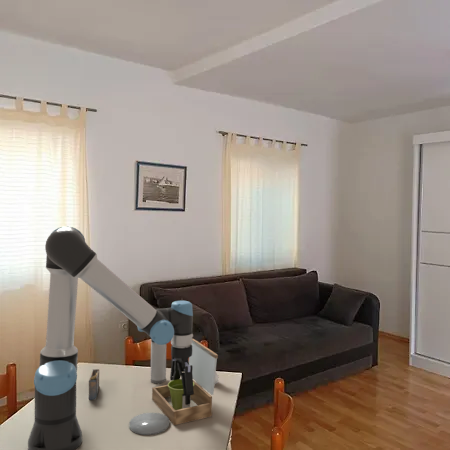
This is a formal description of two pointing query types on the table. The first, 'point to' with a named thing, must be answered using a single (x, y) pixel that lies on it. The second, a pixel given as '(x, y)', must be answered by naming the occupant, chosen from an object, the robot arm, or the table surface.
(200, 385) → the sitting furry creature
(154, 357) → the travel mug
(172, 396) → the plant pot
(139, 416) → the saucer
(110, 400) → the table surface
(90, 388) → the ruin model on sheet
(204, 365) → the lid
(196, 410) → the frame
